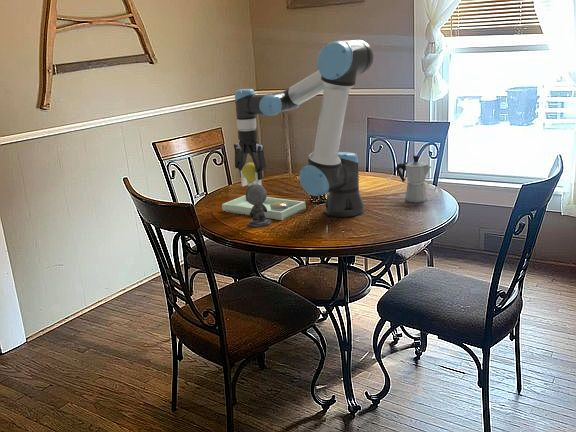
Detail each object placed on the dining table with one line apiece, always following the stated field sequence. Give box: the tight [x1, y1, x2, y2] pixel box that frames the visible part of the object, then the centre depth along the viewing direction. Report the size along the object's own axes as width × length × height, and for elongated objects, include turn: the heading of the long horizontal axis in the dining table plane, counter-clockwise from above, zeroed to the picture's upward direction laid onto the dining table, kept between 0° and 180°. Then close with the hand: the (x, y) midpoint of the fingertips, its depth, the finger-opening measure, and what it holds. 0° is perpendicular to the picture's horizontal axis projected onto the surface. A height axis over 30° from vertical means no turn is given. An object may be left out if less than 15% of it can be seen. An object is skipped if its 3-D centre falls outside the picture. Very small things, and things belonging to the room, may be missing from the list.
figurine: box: [245, 183, 273, 229], centre depth 215 cm, size 9×10×15 cm
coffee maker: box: [395, 155, 432, 204], centre depth 232 cm, size 15×9×18 cm, turn 57°
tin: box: [270, 202, 288, 211], centre depth 229 cm, size 7×7×3 cm
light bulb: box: [242, 162, 256, 187], centre depth 233 cm, size 7×7×10 cm
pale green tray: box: [221, 194, 307, 221], centre depth 234 cm, size 30×16×3 cm, turn 54°
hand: (251, 186), depth 234 cm, fingers closed on light bulb, 7 cm apart
